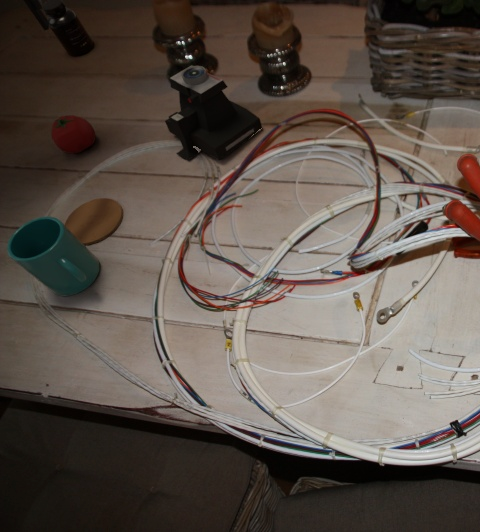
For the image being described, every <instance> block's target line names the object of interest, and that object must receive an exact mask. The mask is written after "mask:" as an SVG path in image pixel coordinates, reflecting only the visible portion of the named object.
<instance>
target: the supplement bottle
mask: <svg viewBox="0 0 480 532" xmlns="http://www.w3.org/2000/svg"><path fill="white" fill-rule="evenodd" d="M41 10H42V12H43V13H44V15H45V16H46V18H47V20H48V21H49V29H50V30H51V31H52V33H53V34H54V36H55V37H56V39H57V41H58V42H59V43H60V45H61V46H62V48H63V49H64V50H65V52H66V53H67V54H68V55H69V56H72V57H78V56H79V57H80V56H83V55H85V54H87V53H89V52H90V51H91V50H92V49H93V48H94V41H93V39H92V38H91V36H90V35H89V33H88V32H87V30H86V28H85V27H84V24H83V23H82V22H81V20H80V19H79V17H78V16H77V14H76V13H75V12H74V11H73V10H72V9H71V8H67V6H66V4H65V3H64V1H63V0H47V1H45V2H44V3H42V9H41Z"/></svg>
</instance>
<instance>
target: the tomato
mask: <svg viewBox="0 0 480 532" xmlns="http://www.w3.org/2000/svg"><path fill="white" fill-rule="evenodd" d="M51 139H52V141H53V143H54V145H55V146H56V147H57V148H58V149H59V150H60V151H62V152H64V153H67V154H72V155H73V154H78V153H82V152H83V151H85V150H86V149H88V148H89V147H92V146H93V144H94V143H95V141H96V131H95V129H94V127H93V125H92V124H91V123H90V122H89V121H87V119H85V118H83V117H80V116H76V115H71V114H69V115H63V116H60V117H58V118H57V119H55V120H54V121H53V123H52V126H51Z"/></svg>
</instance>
